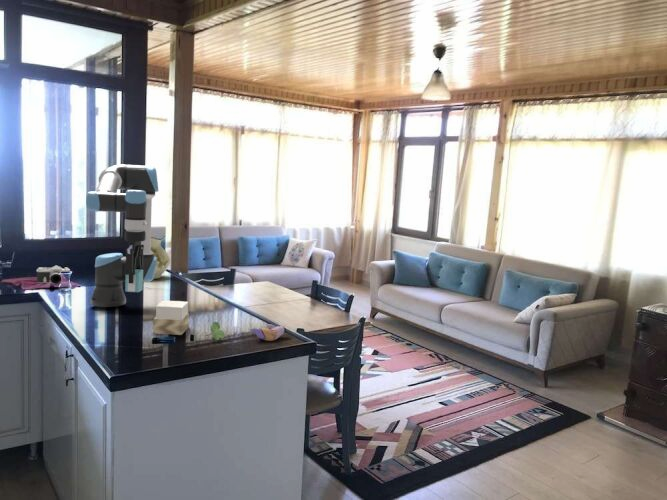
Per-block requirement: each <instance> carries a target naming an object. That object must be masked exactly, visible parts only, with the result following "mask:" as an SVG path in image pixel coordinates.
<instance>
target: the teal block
mask: <svg viewBox="0 0 667 500" xmlns="http://www.w3.org/2000/svg"><path fill="white" fill-rule="evenodd" d="M135 275H136V288H135V292H134V293H140V292H141V291H143V290H144V282H143V270H140V269H135ZM124 286H125V289H124V291H125V292H126V293H127V292H128V293H133V292H132V291H128V275H126V281H125V285H124ZM125 292H124V293H125Z"/></svg>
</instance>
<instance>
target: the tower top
mask: <svg viewBox="0 0 667 500" xmlns="http://www.w3.org/2000/svg"><path fill="white" fill-rule="evenodd" d="M187 314H189V301H183V300H182V301H181V300H162V301H160V302H159V303H158V304H157V305H156V306H155V317H156V319H169V320H183V319H184V318H185V316H186V315H187Z"/></svg>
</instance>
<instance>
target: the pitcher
mask: <svg viewBox="0 0 667 500" xmlns="http://www.w3.org/2000/svg"><path fill="white" fill-rule="evenodd" d="M165 237H166V236H163V237H161V238H157V237H153V236H151V251H152V252H153V253H154V257H157V261H156V267H155V273H154V279H153V280H156V279H160V278H161V277H162V275H163V274H164V273H165V272H166V271H167V269H168V268H169V267H170V264H171V257H170V256H169V254H168V252H167V251H166V250H165V248H163V247H162V241H163V240H164V239H165Z"/></svg>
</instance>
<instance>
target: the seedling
mask: <svg viewBox="0 0 667 500" xmlns="http://www.w3.org/2000/svg"><path fill="white" fill-rule="evenodd" d="M209 330H210V334H206V335H204V337H208V336H211V335H212V337H213V339H215V340H216V341H219V340H220V339H223V338H225V335H226V333H225V332H224V330H222V329H221V325H220V324H219V322H218V321H214V322H213V323H212V324H211V325H210V329H209Z"/></svg>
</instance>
